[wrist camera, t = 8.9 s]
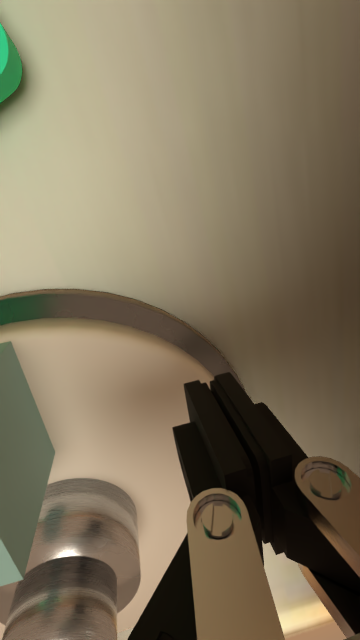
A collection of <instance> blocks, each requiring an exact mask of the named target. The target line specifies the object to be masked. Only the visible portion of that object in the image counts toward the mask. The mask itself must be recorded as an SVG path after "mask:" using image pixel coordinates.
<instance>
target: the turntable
mask: <svg viewBox="0 0 360 640" xmlns="http://www.w3.org/2000/svg"><path fill="white" fill-rule="evenodd" d="M196 380H199V381H200V382H201V383H205V382H206V383H207V385H208V387H209V389H210V381H212V380H214V376H213V375H212V373H211V372H209V371H208V370H207V369H206V368H205V367H204V366H203V365H202V364H201V363H200V362H199V361H198V360H197V359H195V358H194V357H192V356H191V355H189V354H188V353H186V352H185V351H184V350H182V349H181V348H179V347H178V346H176V345H174V344H172V343H170V342H168V341H166V340H164V339H162V338H160V337H158V336H156V335H154V334H151V333H148V332H145V331H142V330H139V329H137V328H134V327H131V326H127V325H122V324H118V323H113V322H108V321H104V320H95V319H84V318H73V317H72V318H40V319H33V320H26V321H19V322H12V323H8V324H4V325H1V326H0V586H3V585H7V584H10V583H13V582H17V581H20V580H23V579H24V575H25V571H26V567H27V563H28V559H29V555H30V551H31V547H32V543H33V539H34V536H35V532H36V528H37V524H38V520H39V516H40V512H41V508H42V504H43V500H44V496H45V492H46V488H47V485H48V484H51V483H54V482H57V481H61V480H65V479H73V478H91V479H98V480H102V481H106V482H109V483H111V484H114V485H116V486H117V487H119V488H121V489H122V490H123V491H125V492H126V493H127V494H128V495H129V496H130V497H131V499H132V501H133V502H134V504H135V507H136V511H137V523H138V539H139V554H140V570H141V580H140V585H139V588H138V591H137V593H136V594H135V596H134V598H133V599H132V600H131V602H130V603H129V604H128V605H127V606H126V607H125V608H124V609H123V610H122V611H120V612H119V613H118V614H117V633H119V632H121V631H124V630H127V629H129V628H132V627H135V625H136V623H137V622H138V620H139V618H140V616H141V614H142V613H143V611H144V609H145V607H146V606H147V604H148V602H149V600H150V598H151V597H152V595H153V593H154V591H155V590H156V588H157V586H158V584H159V582H160V581H161V579H162V577H163V575H164V574H165V572H166V570H167V568H168V566H169V565H170V563H171V561H172V559H173V558H174V556H175V554H176V552H177V550H178V549H179V547H180V545H181V543H182V542H183V540H184V538H185V536H186V534H187V533H188V532H187V521H186V520H187V510H188V508H189V505H190V503H191V501H190V498H189V494H188V491H187V487H186V484H185V480H184V477H183V473H182V469H181V466H180V462H179V458H178V454H177V449H176V445H175V440H174V435H173V429H172V427H175V426H178V425H182V424H186V423H189V422H190V420H189V414H188V408H187V403H186V397H185V391H184V383H188V382H192V381H196ZM4 630H5V625H3V624H2V623H0V640H2V637H3V633H4Z"/></svg>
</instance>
